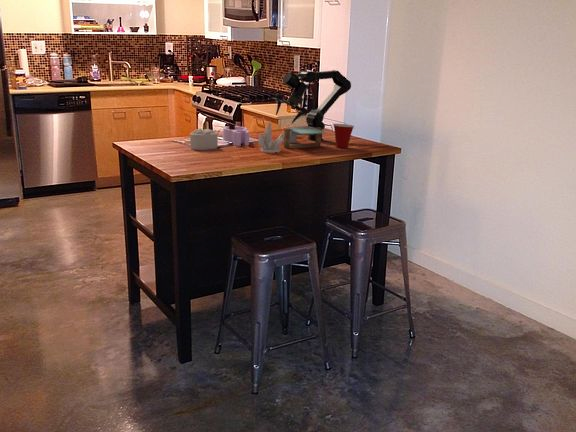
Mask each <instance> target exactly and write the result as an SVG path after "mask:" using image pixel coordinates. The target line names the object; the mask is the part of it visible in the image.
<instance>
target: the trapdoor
mask: <svg viewBox="0 0 576 432" xmlns="http://www.w3.org/2000/svg"><path fill="white" fill-rule="evenodd" d="M286 129H291V131H290V135H291V136H295V135H297V136H309V135H314V134H317V133H322V134H327V131H324V130H323V129H322V130H319V129H316V128H314V127H311V126H308V125H306V126H305V125H304V126H303V125H302V126H287V127H286Z"/></svg>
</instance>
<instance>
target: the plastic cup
mask: <svg viewBox="0 0 576 432" xmlns="http://www.w3.org/2000/svg"><path fill="white" fill-rule="evenodd" d="M354 127H355V125H353V124H347V123H333V128H334V136H335V146H336V148H337V149H348V147H349V144H350V141H351V136H352V132H353V129H354Z"/></svg>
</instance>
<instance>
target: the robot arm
mask: <svg viewBox="0 0 576 432" xmlns="http://www.w3.org/2000/svg"><path fill="white" fill-rule="evenodd" d="M328 79H332V82H333V84H334V85H333V89H332V91H331V92H330V93H329V95H328V96H327V97H326V98H325V99H324V101H322V103H321V104H320V105H319V106H318V107H317V108H316V109H313V108H312V109H311V110H310V111H309V109H308V108H306V107H304V106H301V105H302V103H303V101H304V98H303V96H304V94H305V92H306V90H309V91H310V90H311V87H310V84H311V83H314V82H316V81H318V80H328ZM282 82H283V84H285V85H286V86H287V87H289V88H290V89H293V90H292V92H291V94H290V95H289V97H288V99H285V98H284V97H285V96H283V95H282V94H280V93H277V94H275V96H274V100H275V102H276V104H277V108H276V112H275V116H278V113H279V112H280V109H281V106H282V103H284V104H286V105H288V106H290V107H291V108H293V109H295V110H297V111H298V113H297V114H296V115H295V117H294V118H293V120H292V122H291V124H294V123H295V122H296V121H297V120H298V119H299V118H300V117H304V116H305V117H306V118H305V122H306V124H307V126H311V127H314V128H316V127H320V128H322V129H321V130H322V131H323V130H324V129H325V127H326V124H325V123H324V122H323V120H324V117H325V115H326V113H327V112H328V111H329V110H330V108H332V106H333V105H334V104H335V102H336V101H337V100H338V99H339V98H340V97H341V96H342V95H344V94H347V93H348V91H349V90H351V88H352V82H351V80H348V79H347V78H346V77H345V76H344V75H343V74H342V73H341V72H340V71H339V70H335V69H333V70H327V71H325V70H324V71H310V70H302V71H300V72H299V73H298V74H295V73H294V72H293V71H288V73H287V74H286V75H284V76H283V79H282ZM307 83H308V84H307ZM309 83H310V84H309ZM298 105H300V106H298ZM307 139H308V140H311V141H315V140H316V134H314V135H308V137H307ZM323 140H324V138H323V133H321V141H323Z"/></svg>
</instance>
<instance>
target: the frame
mask: <svg viewBox="0 0 576 432" xmlns="http://www.w3.org/2000/svg"><path fill="white" fill-rule="evenodd" d="M316 129H319V130H321V129H322V128H320V127H316ZM322 130H323V129H322ZM290 131H291V129H287V128H284V129H283V138H284V139H283V148H284V149H297V148H298V149H300V148H316V147H321V145H322V142H321V141H322V140H321V133H317V134H316V140H314V142H310V143H309V142H308V143H289V139H290Z"/></svg>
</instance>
